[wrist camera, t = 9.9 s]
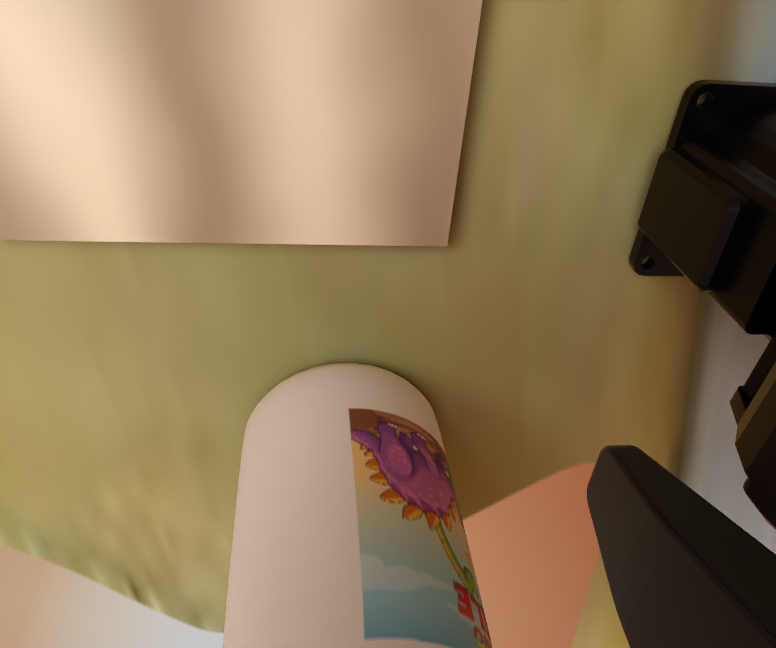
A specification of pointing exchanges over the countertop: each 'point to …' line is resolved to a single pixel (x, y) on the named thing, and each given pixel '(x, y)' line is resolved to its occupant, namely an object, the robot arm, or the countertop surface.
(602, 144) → the countertop surface
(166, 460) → the countertop surface
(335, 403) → the milk bottle
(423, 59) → the board
